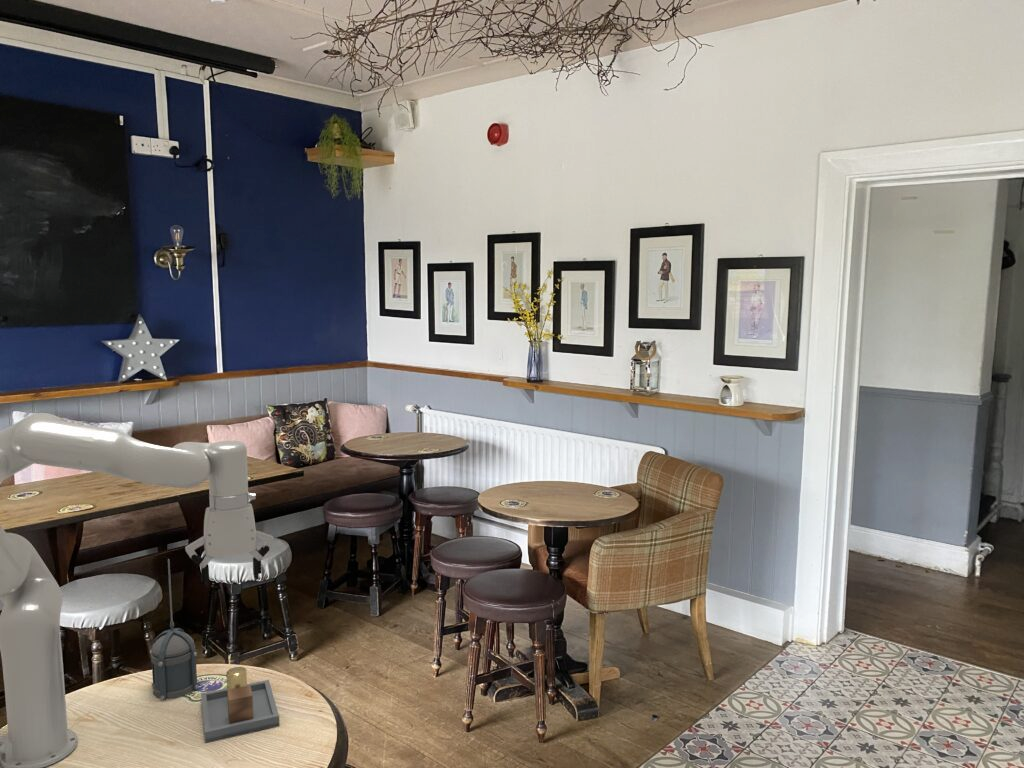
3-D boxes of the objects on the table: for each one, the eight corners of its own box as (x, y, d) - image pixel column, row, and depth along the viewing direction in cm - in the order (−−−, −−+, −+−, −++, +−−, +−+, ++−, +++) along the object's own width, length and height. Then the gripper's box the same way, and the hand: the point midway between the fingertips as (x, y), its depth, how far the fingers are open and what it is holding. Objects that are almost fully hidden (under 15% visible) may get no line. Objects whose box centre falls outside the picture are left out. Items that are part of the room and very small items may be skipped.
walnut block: (229, 728, 151) (228, 700, 150) (228, 717, 155) (227, 689, 154) (253, 723, 153) (252, 695, 152) (251, 712, 157) (250, 685, 156)
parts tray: (205, 742, 147) (204, 732, 147) (201, 703, 162) (200, 693, 162) (279, 726, 153) (279, 715, 153) (269, 689, 168) (268, 679, 167)
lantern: (209, 677, 173) (204, 551, 169) (185, 702, 162) (178, 568, 159) (165, 675, 174) (159, 550, 170) (138, 699, 163) (131, 566, 160)
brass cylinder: (228, 709, 158) (227, 677, 157) (226, 699, 162) (225, 669, 161) (248, 704, 160) (247, 673, 159) (246, 695, 163) (245, 665, 162)
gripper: (270, 492, 163) (272, 569, 164) (183, 500, 155) (186, 580, 157) (275, 501, 156) (277, 580, 158) (184, 510, 149) (187, 593, 150)
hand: (231, 580), depth 157 cm, fingers open, 9 cm apart
